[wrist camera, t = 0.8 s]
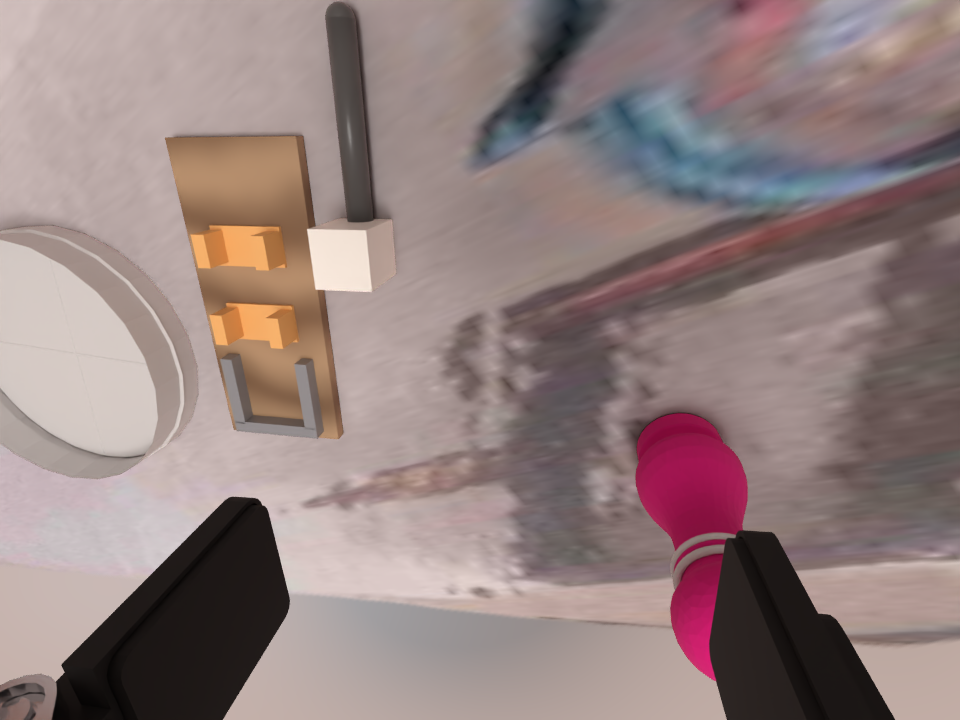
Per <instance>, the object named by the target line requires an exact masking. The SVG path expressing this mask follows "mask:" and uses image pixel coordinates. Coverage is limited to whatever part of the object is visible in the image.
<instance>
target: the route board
mask: <svg viewBox="0 0 960 720" xmlns="http://www.w3.org/2000/svg"><path fill="white" fill-rule="evenodd" d="M165 140H166V144H167V148H168V152H169V157H170V161H171V165H172V169H173V174H174V178H175V182H176V186H177V191H178V195H179V199H180V203H181V208H182V212H183V216H184V220H185V224H186V229H187V233H188V237H189V241H190V246H191V250H192V254H193V258H194V263H195V267H196V271H197V275H198V280H199V284H200V288H201V292H202V297H203V301H204V305H205V309H206V313H207V318H208V322H209V326H210V330H211V335H212V339H213V343H214V347H215V352H216V356H217V360H218V364H219V369H220V373H221V377H222V381H223V386H224V390H225V394H226V398H227V402H228V407H229V411H230V415H231V419H232V424H233V428H234V430H236V425H235V421H234V417H233V412H232V408H231V404H230V400H229V395H228V391H227V387H226V382H225V378H224V374H223V370H222V365H221V361H220V359H221V358H223V357H224V356H226V355H227V354H229V353H230V354H240V356H241V361H242V365H243V370H244V375H245V379H246V384H247V389H248V393H249V398H250V403H251V407H252V412H253V415H258V416H270V417H281V418H293V419H303V414H302V408H301V402H300V396H299V390H298V384H297V379H296V373H295V367H294V364H295V363H296V362H297V361H299V360H300V359H301V358H306V359H313V363H314V369H315V376H316V382H317V389H318V395H319V402H320V408H321V415H322V421H323V428H324V432H323V433H322V434H321V435H320V436H319V438H330V439H339V438H340V437H341V436H342V434H343V427H342V419H341V412H340V405H339V397H338V390H337V383H336V375H335V368H334V361H333V353H332V346H331V338H330V331H329V324H328V316H327V309H326V302H325V294H324V290H316V289H315V282H314V275H313V268H312V261H311V254H310V247H309V239H308V232H307V229H309V228H312V227H315V221H314V213H313V206H312V199H311V191H310V184H309V176H308V169H307V162H306V154H305V147H304V140H303V136H270V137H174V138H165ZM209 225H240V226H281V232H282V238H283V244H284V250H285V257H286V263H287V267H286V268H274V269H272V270H269V271H266V270H256V267H245V266H216V267H214V268H198V264H197V260H196V256H195V252H194V247H193V243H192V239H191V234H195V233H199V232H203V231H207V230H210V228H209ZM227 302H238V303H259V304H279V305H293V306H294V312H295V318H296V324H297V330H298V336H299V342H292V343H290V344H289V345H288V346H286V347H285V348H284V349H277V348H271V346H270V341H265V340H249V339H238V340H236V341H235V342H233V343H231V344H229V345H216V341H215V337H214V333H213V328H212V324H211V320H210V316H209V315H211V314H213V313H215V312H217V311H219V310H221V309H223V308H225V307H227V306H226V303H227Z"/></svg>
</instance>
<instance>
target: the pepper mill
mask: <svg viewBox="0 0 960 720" xmlns="http://www.w3.org/2000/svg"><path fill="white" fill-rule="evenodd" d="M637 455H638V460H639V463H638V466H637V469H636V477H635V478H636V487H637V490H638V494H639V497H640V500H641V502H642V504H643V506H644V508H645V509H646V511H647V512H648V514H649V515H650V516H651V517H652V519H653V520H654V521H655V522H656V523H657V524H658V525H659V526H660V527H661V528H662V529H663V530H664V531H665V532H667V533H668V534H669V536H670V537H671V539H672V541H673V544H674V547H675V553H674V555H673V557H672V559H671V564H670V571H671V575H672V578H673V584H674V588H675V592H674V594H673V596H672V601H671V607H670V611H671V623H672V627H673V630H674V633H675V636H676V639H677V642H678V644H679V645H680V647H681V649H682V650H683V652H684V654H685V655H686V657H687V658H688V659H689V660H690V661H691V662H692V664H693V665H694V666H695V667H696V668H697V669H698V670H700V671H701V672H703V673H704V674H705V675H707V676H708V677H709V678H711V679H712V680H714V681H716V679H715V675H714V671H713V668H712V664H711V660H710V653H709V639H710V633H711V627H712V621H713V615H714V608H715V602H716V596H717V590H718V584H719V577H720V571H721V565H722V559H723V553H724V546H725V542H726V539H727V538H735V537H736V534H737V532H738V531H740V530H743V528H742V524H743V518H744V514H745V509H746V505H747V497H748V487H747V479H746V476H745V473H744V470H743V467H742V464H741V462H740V460H739V458H738V457H737V456H736V454H735V453H734V452H733V451H732V450H731V449H730V448H729V447H728V446H727V445H725V444H724V443H723V442H722V440H721V438H720V435H719V433H718V432H717V430H716V429H715V428H714V426H713V425H712V424H710V423H709V422H708V421H706V420H705V419H703V418H701V417H698V416H695V415H691V414H684V413H676V414H671V415H666V416H663V417H661V418H658V419H656V420H655V421H653V422H652V423H650V424H649V425H648V426H647V427H646V428H645V429H644V430H643V432H642V433H641V435H640V437H639V439H638V444H637Z"/></svg>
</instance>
